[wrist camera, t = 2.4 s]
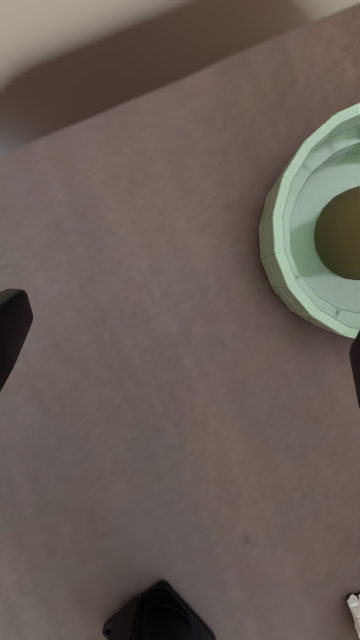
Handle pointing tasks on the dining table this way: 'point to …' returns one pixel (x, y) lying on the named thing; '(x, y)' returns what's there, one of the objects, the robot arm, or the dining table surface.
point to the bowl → (313, 226)
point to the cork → (340, 234)
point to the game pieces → (355, 611)
